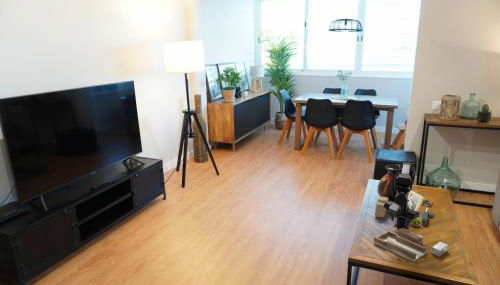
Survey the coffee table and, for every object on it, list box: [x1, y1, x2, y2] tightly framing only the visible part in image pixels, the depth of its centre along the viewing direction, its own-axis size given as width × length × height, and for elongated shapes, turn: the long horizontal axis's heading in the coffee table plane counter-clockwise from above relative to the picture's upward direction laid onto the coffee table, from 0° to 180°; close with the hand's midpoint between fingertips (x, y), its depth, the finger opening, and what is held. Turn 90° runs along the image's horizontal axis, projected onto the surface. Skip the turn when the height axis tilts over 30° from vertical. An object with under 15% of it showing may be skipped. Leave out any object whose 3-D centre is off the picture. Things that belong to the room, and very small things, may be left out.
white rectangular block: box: [431, 241, 448, 257], centre depth 189 cm, size 9×4×4 cm, turn 127°
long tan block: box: [397, 228, 424, 246], centre depth 201 cm, size 5×14×5 cm, turn 32°
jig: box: [373, 229, 428, 263], centre depth 194 cm, size 14×24×4 cm, turn 36°
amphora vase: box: [376, 163, 410, 202], centre depth 248 cm, size 22×22×28 cm
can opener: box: [421, 207, 435, 226], centre depth 226 cm, size 19×6×5 cm, turn 145°
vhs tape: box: [421, 199, 433, 208], centre depth 249 cm, size 14×8×2 cm, turn 143°
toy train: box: [374, 196, 388, 219], centre depth 234 cm, size 6×17×10 cm, turn 151°
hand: (399, 223), depth 194 cm, fingers open, 9 cm apart
